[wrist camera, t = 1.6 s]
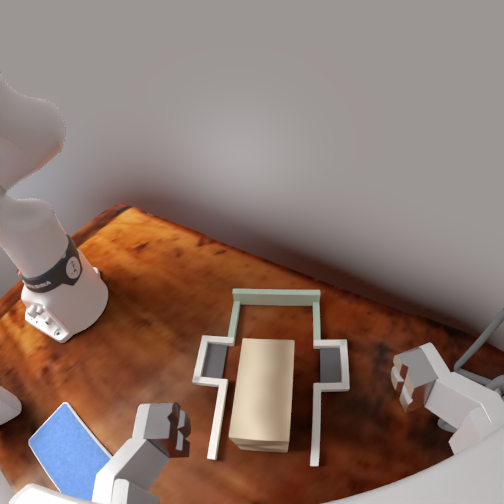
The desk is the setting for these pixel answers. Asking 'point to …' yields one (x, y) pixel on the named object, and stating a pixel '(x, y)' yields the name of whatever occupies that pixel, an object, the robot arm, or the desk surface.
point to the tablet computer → (69, 452)
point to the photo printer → (8, 406)
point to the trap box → (215, 347)
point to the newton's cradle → (495, 385)
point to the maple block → (263, 396)
